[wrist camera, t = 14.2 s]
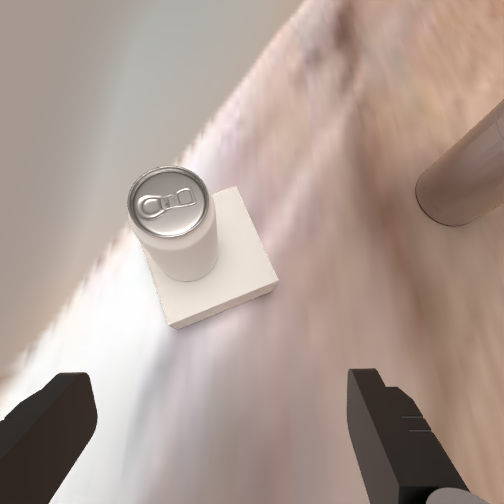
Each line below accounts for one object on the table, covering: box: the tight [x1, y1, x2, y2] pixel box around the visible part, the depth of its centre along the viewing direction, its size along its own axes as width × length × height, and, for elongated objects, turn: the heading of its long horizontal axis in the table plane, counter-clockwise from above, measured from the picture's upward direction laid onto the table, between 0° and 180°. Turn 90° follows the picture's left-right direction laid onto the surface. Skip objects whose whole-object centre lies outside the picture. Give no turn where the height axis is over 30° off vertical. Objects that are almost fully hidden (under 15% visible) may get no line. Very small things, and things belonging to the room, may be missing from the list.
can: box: [128, 166, 218, 281], centre depth 28 cm, size 6×6×12 cm
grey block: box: [140, 186, 279, 330], centre depth 37 cm, size 12×12×6 cm
